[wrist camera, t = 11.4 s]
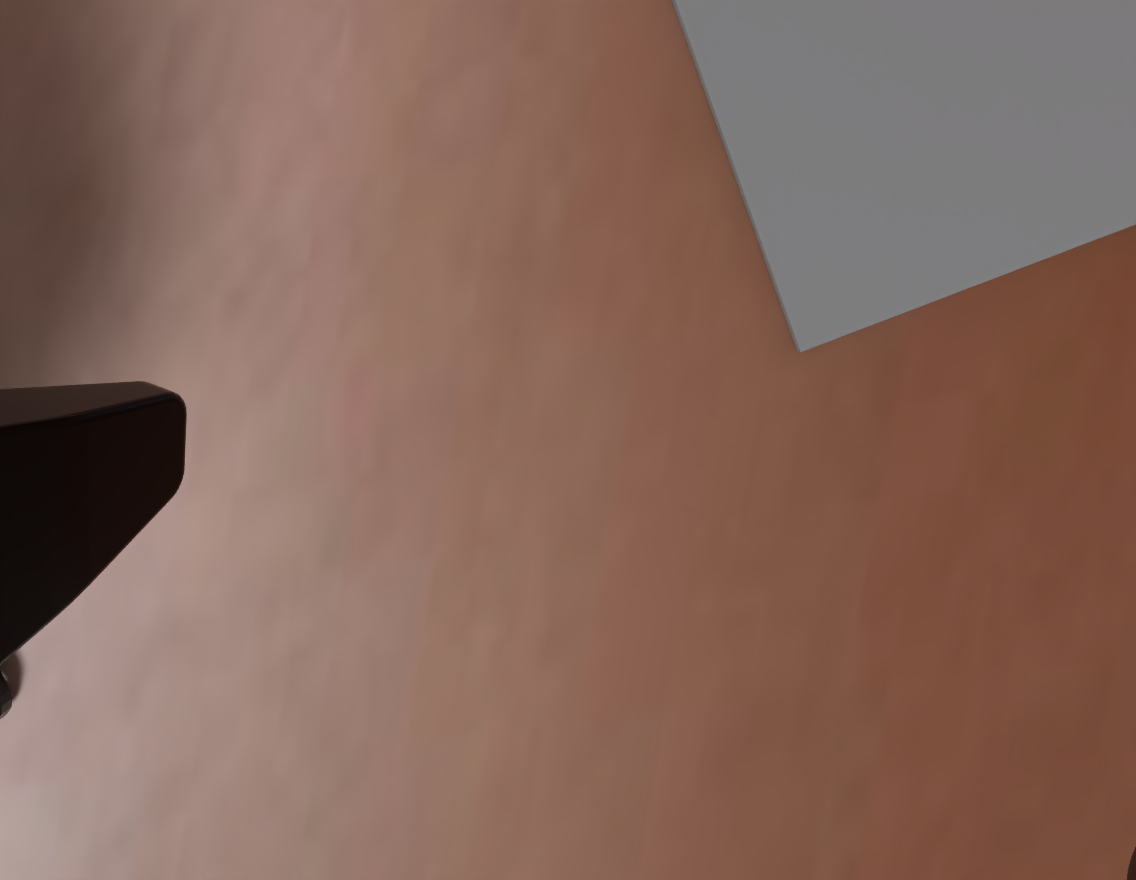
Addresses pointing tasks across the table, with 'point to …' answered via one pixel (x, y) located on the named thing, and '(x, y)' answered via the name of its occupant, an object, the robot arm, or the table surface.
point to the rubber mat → (917, 141)
